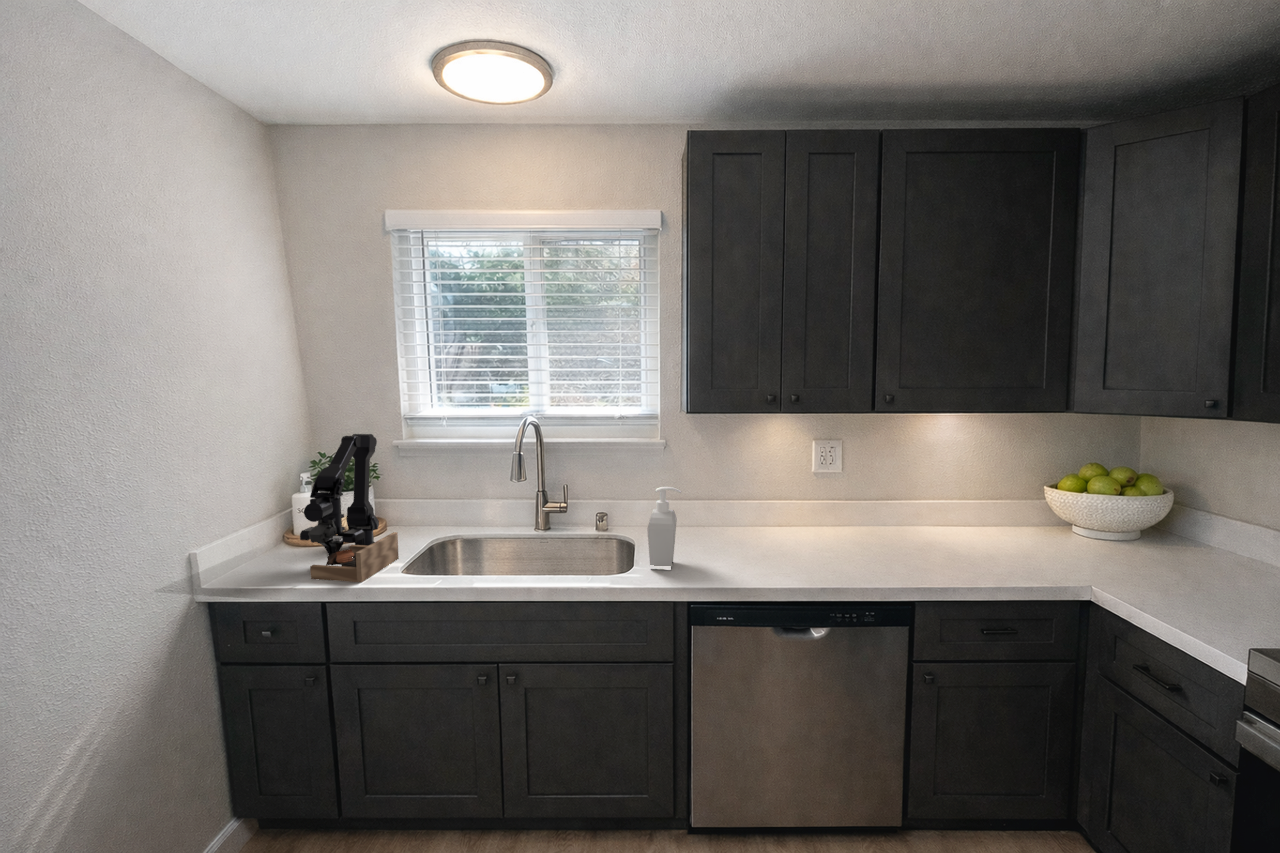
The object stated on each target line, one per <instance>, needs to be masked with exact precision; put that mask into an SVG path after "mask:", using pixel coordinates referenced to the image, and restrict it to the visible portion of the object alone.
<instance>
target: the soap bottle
mask: <svg viewBox="0 0 1280 853" xmlns="http://www.w3.org/2000/svg"><path fill="white" fill-rule="evenodd" d="M667 491H673V492H674V491H675V492H677V493H680V494H681V493H682V490H681V489H678V488H676V487H673V486H660V487H657V488H656V489H655V493H658V492H659V499H658V500H656V502H655V505H656V506H655V508H653V509H652V512H651V514H650V517H649V521H648V524H647V528H646V529H647V541H648V555H649V556H648V557H649V566H650V565H654V566H672V567H673V565H672V562H673V563H674V555H675V543H676V534H677V533H676V531H677V523H678V522H677V515H676V512H675V510H674V509H670V501H669V500H667Z"/></svg>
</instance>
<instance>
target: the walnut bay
mask: <svg viewBox="0 0 1280 853" xmlns="http://www.w3.org/2000/svg"><path fill="white" fill-rule="evenodd" d="M398 536H399V535H398V532H394V531H392V532H391V533H389V534H388V535H386V536H384V537H381V538H380V539H378V540H376V541H374V542H375V543H373V544H371V545H369V546H367V545H355V544H351V545H349V546H348V547H349V548H348V549H352V552H353V553H356V567H345V566H341V565H326V564H312V565H310V567H309V569H310V572H309V573H310V580H316V579H319V580H318V581H320V580H321V581H334V582H335V581H337V582H350V583H351V582H352V583H353V582H354V583H363V582H365V581H366V580H368V579H369V578H371V577H373V576H374V575H376V574H377V573H379V572H380V571H382V570H384V569H386V568H387V567H388V566H390V565H392V564H393V563H394V561H395V560H396V561H398V560H399V557H400V556H399V539H398V538H399V537H398ZM353 559H355V558H354V557H353ZM397 559H398V560H397ZM396 561H395V562H396ZM392 562H393V563H392ZM389 564H390V565H389ZM386 566H387V567H386ZM383 568H384V569H383Z"/></svg>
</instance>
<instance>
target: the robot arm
mask: <svg viewBox="0 0 1280 853" xmlns="http://www.w3.org/2000/svg"><path fill="white" fill-rule="evenodd" d="M377 442H378V441H377V438H376V436H374V434H372V433H353V434H352V435H344V436H342V438H341V441H340V444H339V447H338V448H337V450H336V452H335V454H334V456H333V458H332V460H331V461H330V463H329V465H327V466H326V467H325V468H323V469H321V470H320V472H319V473H318V475H317V476H316V477H315V479H314V483H313V486H312V490H311V492H310V496H309V498H310V499H309V503H308V504H307V505H305V507H304V510H303V515H304V517H305V519H306V520H307V521H309V522H312V523H317V524H316V525H315V526H310V527H307V528H305V529H302V530H301V531H300V533H299V540H300V541H310V542H311V543H314V544H315V543H317V544H320V545H321V546H323V547H324V549H325V550H326V553H327V556H329V555H331V554H333V553H335V552H339V551H341V549H342V547H343V545H344V543H346V544H354V545H367V546H369V545H371V544H373V543H375V542H376V541H375V540H374V531H376V530H378V529H379V526H380V525H379V524H380V523H379V522H380V521H379V519H378V518H377V517H376V515H375V510H374V507H373V505H372V504H371V502H370V500H369V499H370V497H369V496H370V469H371V468H370V463H371V458H372V457H373V455H374V454H375V453H376V446H377ZM352 459H354V465H353V466H354V469H353V470H354V472H353V502H352V503H351V504H350V506H348V507H347V508H346V518H345V514H344V513H342V498H341V497H342V496H343V495H344V492H342V490H343V489H344V487H345V482H346V477H345V472H346V470H347V468H348V466H349V464H350V462H351V460H352ZM343 518H345V519H346V524H347V528H348V530H347V531H345V528H346V527H345V526H343Z"/></svg>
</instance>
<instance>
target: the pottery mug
mask: <svg viewBox="0 0 1280 853" xmlns="http://www.w3.org/2000/svg"><path fill="white" fill-rule="evenodd" d="M352 557H354V558H352ZM326 558H327V561H326V564H325V565H328V566H345V567H356V553H353V552H352V549H349V548H348V549H347V548H346V549H342V550H340V551H339V552H335V553H333V554H331V555H327V557H326Z"/></svg>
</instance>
